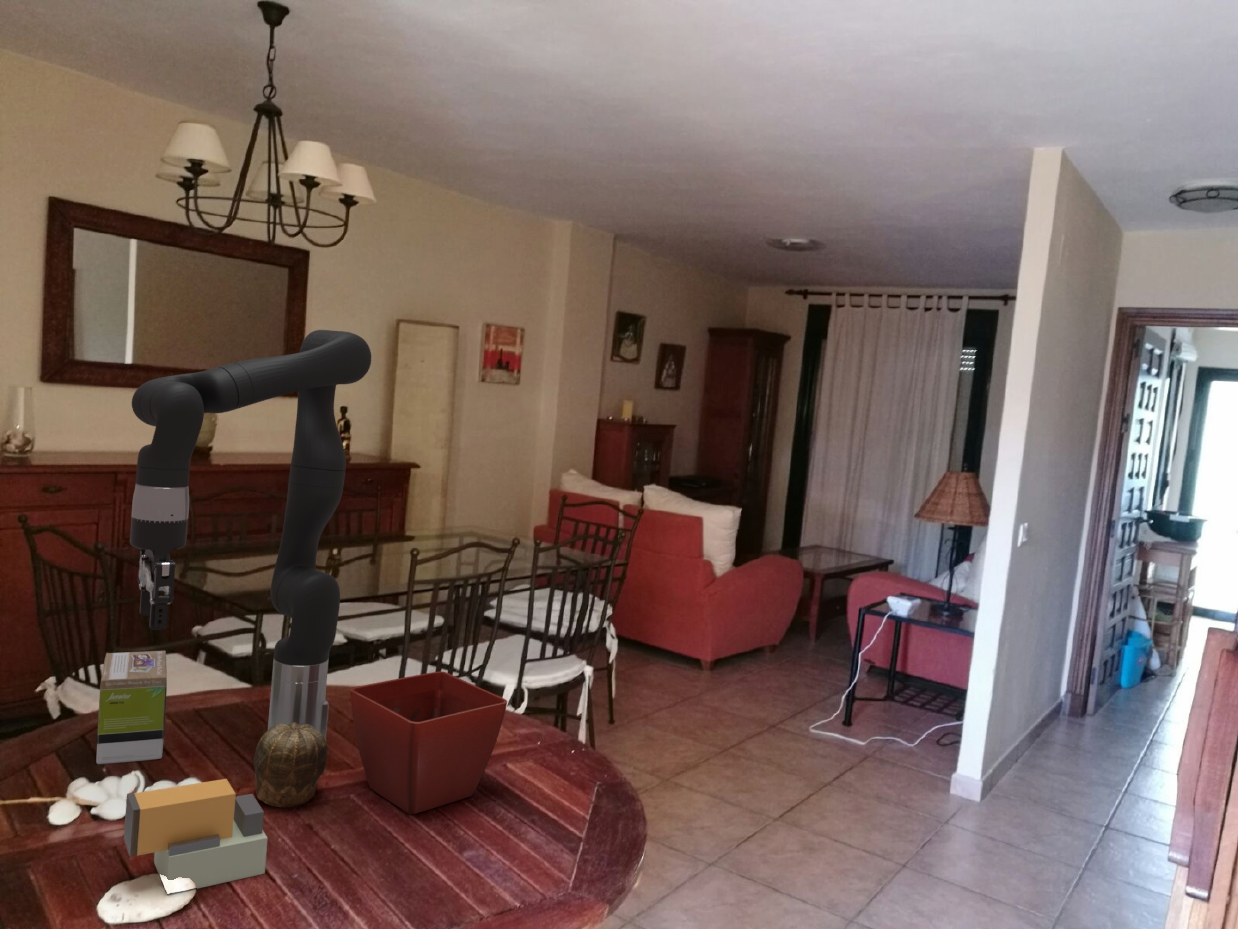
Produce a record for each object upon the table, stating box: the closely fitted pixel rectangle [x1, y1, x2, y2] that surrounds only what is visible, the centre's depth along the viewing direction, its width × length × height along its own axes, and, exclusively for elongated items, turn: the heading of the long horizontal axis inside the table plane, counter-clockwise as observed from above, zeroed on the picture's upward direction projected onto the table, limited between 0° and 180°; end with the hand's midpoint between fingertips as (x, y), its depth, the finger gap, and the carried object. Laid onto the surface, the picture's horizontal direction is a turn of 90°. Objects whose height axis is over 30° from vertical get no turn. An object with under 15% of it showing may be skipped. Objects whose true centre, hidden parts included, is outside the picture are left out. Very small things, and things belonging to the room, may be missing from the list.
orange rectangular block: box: [123, 778, 237, 858], centre depth 118 cm, size 12×5×6 cm, turn 127°
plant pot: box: [349, 670, 508, 815], centre depth 149 cm, size 19×19×17 cm
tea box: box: [95, 650, 168, 765], centre depth 155 cm, size 15×10×15 cm, turn 27°
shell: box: [253, 722, 328, 809], centre depth 142 cm, size 11×11×12 cm
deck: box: [153, 793, 268, 889], centre depth 120 cm, size 12×9×8 cm
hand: (152, 621), depth 134 cm, fingers open, 8 cm apart
